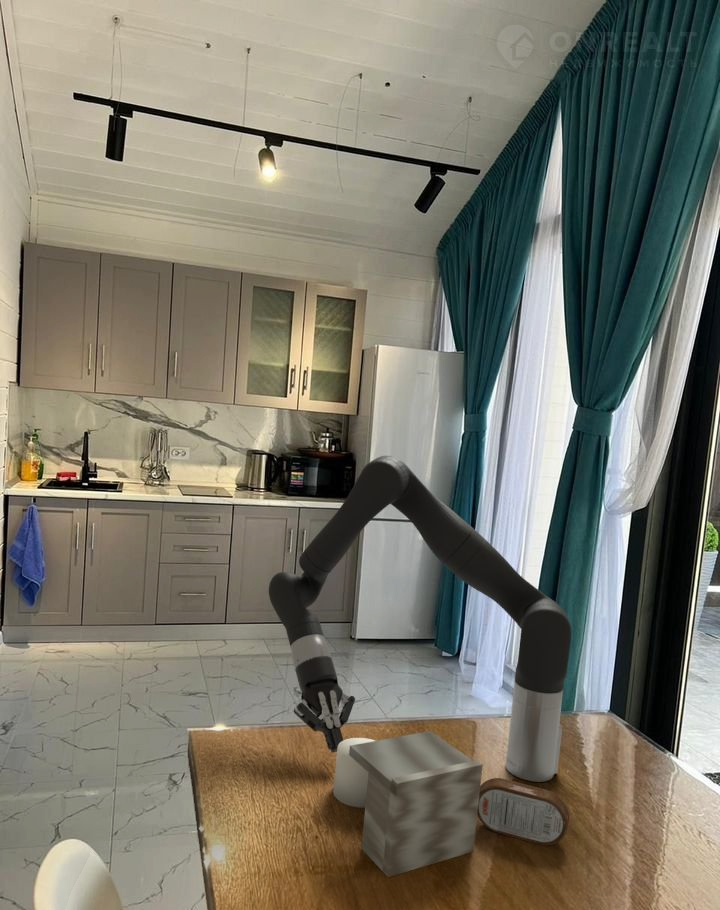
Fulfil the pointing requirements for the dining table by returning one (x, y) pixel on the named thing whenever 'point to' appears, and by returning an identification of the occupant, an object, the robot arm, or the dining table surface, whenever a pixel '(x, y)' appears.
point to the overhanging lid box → (417, 801)
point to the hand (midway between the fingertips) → (337, 750)
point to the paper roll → (350, 775)
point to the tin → (522, 811)
